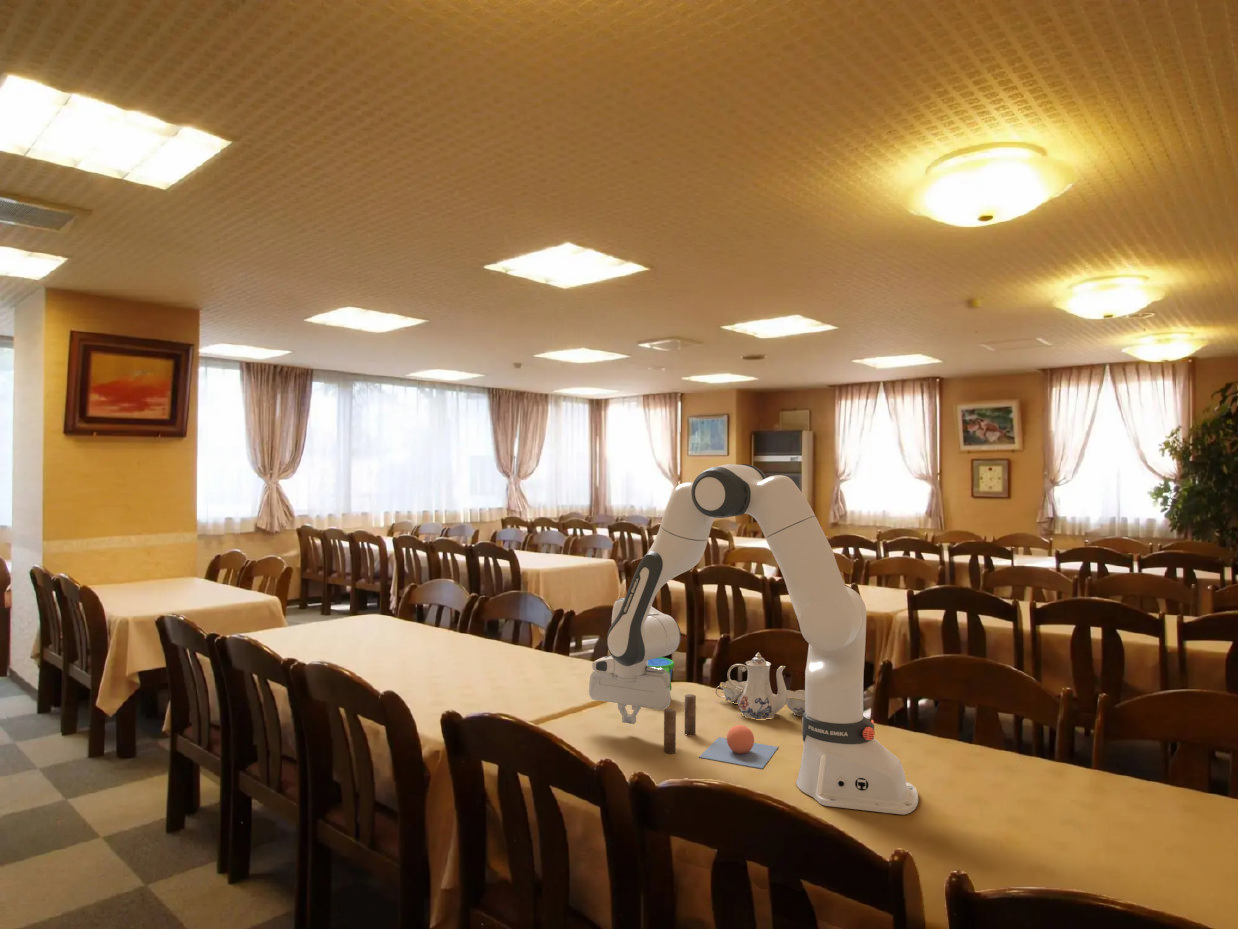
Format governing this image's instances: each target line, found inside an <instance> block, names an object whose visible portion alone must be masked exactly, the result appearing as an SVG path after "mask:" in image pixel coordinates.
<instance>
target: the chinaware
mask: <svg viewBox="0 0 1238 929" xmlns="http://www.w3.org/2000/svg"><path fill="white" fill-rule="evenodd" d="M745 664H746V665H745ZM771 665H772V663H771V662H769V661H766V660H765V658H764V657H762V655H761V653H760V652H757V653H756V654H755V656H754V657H753V658H752V659H751V660H747V661H745V663H744V664H743V663H735V664H733V665H731V666H730V667H729V669H728V671H727V681H725V682H723V681H722V682H720V683H719V685H718V686H717V687H716V688H715V694H716V696H717V697H718V698H724V701H725V702H728V701H730V703H731V702H734V703H738V705H737V706H738V709H739V710H740V711H741V714H742V713H743V715H744V716H746V717H748V718H755V719H766V718H773V719H775V717H774V715H775V714H777V713H778V712H779V711H781V710H782V709H783V708H784V707H785V705H786V706H787V708H788V709H789V710H790V711H791V712H792V713H794V714H793V715H794V716H796V715H797V717H803V713H804V712H805V689H798V690H791V689H790V690H789V689H787V687H786V683H785V680H784V676H783V670H784V669H785V668H786V665H780V666H779V667H778V668H777V669H776V675H775V676H776V677H775V678H776V687H777V694H775V693H773V690H772V688H771V682H770V669H771ZM736 667H741V671H742V672H743V673H744V672H746V671H747V679H746V681H745V680H744V681H738V680H735V679H733V680H732V679H731V676H730V675H731V671H732V669H734V668H736ZM718 688H720V689H722V691H723V694H724V696H720V695H719V694H718V692H717V690H718ZM748 718H747V719H748Z"/></svg>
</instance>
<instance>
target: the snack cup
mask: <svg viewBox="0 0 1238 929" xmlns="http://www.w3.org/2000/svg"><path fill="white" fill-rule="evenodd" d="M648 666H649V667H655V668H663V669H665V671H667V672H668V673H669V674H670V686H669V687H670V692H671V691H672V687H673V686H672V682H671V680H672V674H673V673H672V672H673V669H674V668H675V662H674V660H672V659H671V658H667V657H663V656H662V657H658V658H655V659H651V660H648ZM664 673H665V672H664Z"/></svg>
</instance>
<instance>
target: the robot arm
mask: <svg viewBox="0 0 1238 929" xmlns="http://www.w3.org/2000/svg"><path fill="white" fill-rule="evenodd" d="M744 514H746V515H749V516H751V517H753V518H754V520H755V521H756V522H757V524H758V526H759V528H760V530H761V532H762V534H763V537H764V538H765V540H766V542H767V544H768V546H769V549H770V551H771V554H772V555H773V557H774V559H775V562H776V564H777V565H778V567H779V570H780V572H781V575H782V577H783V580H784V583H785V585H786V590H787V593H788V595H789V599H790V602H791V605H792V608H793V611H794V614H795V616H796V619H797V621H798V625H799V629H800V633H801V635H802V637H803V639H804V640H805V641H806V642H807V643H808V650H807V656H806V657H807V658H806V666H805V671H804V675H805V676H804V678H805V680H804V691H805V712H804V713H803V716H801V717H802V718H801V734H802V741H803V749H802V756H801V762H800V767H799V771H798V776H797V779H796V782H795V784H796V785H797V787H798V789H799V790H800V791H802V792H803V793H805V794H806V795H808V796H810V797H812V798H813V799H815V801H817V802H818V803H819V804H820V805H821V806H822V805H823V806H826V807H833V808H834V807H835V808H842V809H851V810H859V811H860V810H861V811H869V812H877V813H883V814H894V815H895V814H896V815H908V814H910V813H912V812H913V811H915V810H916V808H917V807H918V804H919V793H918V792H919V791H918V790H917V788H916V787H915V786H914V785H913V784H912V783H911V782H907V780H906V775H905V770H904V768H903V765H902V763H901V760H900V759H899V758H898V756H896V755H895V754H893V753H892V752H891V751H890V750H889V749H888V748H886V747H885V746H884V745H882V743H880V742H879V741H878V740H877V739H876V738H875V724H874V723H875V722H874V720H873V719H871V721H870V720H869V719H868V718H867V717H866V716H864V673H865V672H864V670H865V657H866V656H865V654H866V638H867V635H866V634H867V608H866V607H867V606H866V604H865V601H864V599H863V598H862V596H861V595H860V593H858V592H857V591H856V590H854V589H852V588H851V587H849V586H847V585H846V584H845V581H844V579H843V576H842V574H841V571H840V569H839V566H838V563H837V560H836V558H835V552H834V550H833V549H832V547H831V544H830V542H829V540H828V538H827V536H826V534H825V532H824V529H823V528H822V526H821V525H820V522H819V520H818V518H817V517H816V514H815V513H814V510H813V509H812V507H811V504H809V502H808V500H807V498H806V497H805V495H804V494H803V492H802V491H801V490H800V488H799V487H798V486H797V484H796V483H795V481H794V480H793V479H792V478H790V477H789V476H787V475H783V474H781V475H780V474H779V475H778V474H777V475H775V474H774V475H770V476H768V477H767V476H766V474H765V473H764V472H763V471H762V470H761V469H760V468H758V467H756V466H754V465H752V464H746V463H741V464H735V463H734V464H733V463H726V464H721V465H718V466H711V467H708V468H706V469H705V470H703V471H702V472H700V473H699V474H698V475H697V476H696V477H695V479H694V481H687V482H682V483H680V484H678V485H676V487H675V488H674V489H673V491H672V493H671V495H670V496H669V499H668V501H667V504H666V506H665V510H664V511H663V515H662V517H661V522H660V526H659V529H658V531H657V534H656V536H655V539H654V541H653V543H652V545H651V547H649V550H648V551H647V553H646V554H644V556H643V557H642V558H641V560H640V561H639V564H638V565H637V568H636V570H635V572H634V575H633V577H632V579H631V582H630V585H629V587H628V589H627V593H626V595H625V597H620V598H619V599H617V600H615V601H614V603H613V608H612V611H611V612H612V615H611V625H610V626H609V628H608V632H607V636H606V648H607V650H608V652H609V655H606V656H602V657H600V658H598V659H596V660H594V661H593V662H592V664H591V668H592V670H593V671H592V672H591V673H590V676H589V684H588V696H589V697H590V698H591V700H595V701H602V702H606V703H607V702H608V703H613V704H617V709H618V711H619V713H620V714H621V723H625V724H631V725H635V724H636V722H637V715H638V714H639V712H640V710H641V708H648V709H655V710H658V711H659V710H660V711H664V710H666V709H668V707H669V706H670V705H671V702H672V698H671V691H670V687H669V686H670V674H669V673H668V672H667V671H665V669H663V668H655V667H649V666H648V660H651V659H655V658H658V657H662V658H663V657H665V656H669V655H671V654H674V653H675V652H676V651H677V650H678V648H679V647H680V643H681V640H682V639H681V638H682V637H681V636H682V635H681V634H682V633H681V630H680V626H679V623H678V622H677V620H676V619H675V618H673V616H672V615H669V614H666V613H663V612H661V611H659V610H658V609H656V608H655V607H653V603H654V601H655V598H656V596H657V594H658V592H659V591H660V589H661V588H662V587H664V585H665V584H667V583H668V582H670V581H671V580H673V579H674V578H676V577H677V576H679V575H681V574H684V573H686V572H688V571H690V570H691V569H693V568H694V567H695V566H697V565H698V564H699V562H701V559H702V558H703V555H704V553H705V550H706V548H707V545H708V540H709V536H710V534H711V529H712V527H713V523H714V521H715V519H726V518H731V517H739V516H743V515H744ZM664 672H665V673H664ZM627 706H631V710H633V712H632V713H628V711H627V709H626V707H627Z"/></svg>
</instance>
